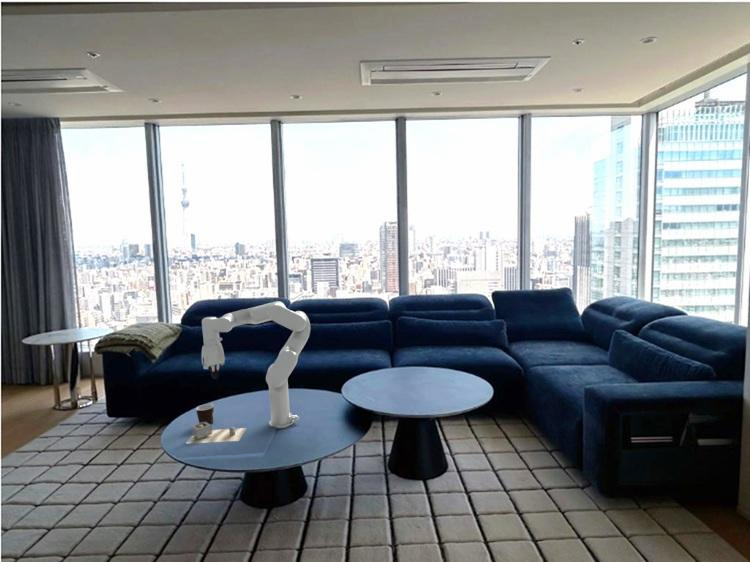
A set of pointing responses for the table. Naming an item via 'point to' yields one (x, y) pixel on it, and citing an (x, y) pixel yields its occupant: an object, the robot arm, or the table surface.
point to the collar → (201, 430)
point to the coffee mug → (205, 413)
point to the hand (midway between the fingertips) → (215, 378)
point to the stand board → (219, 435)
